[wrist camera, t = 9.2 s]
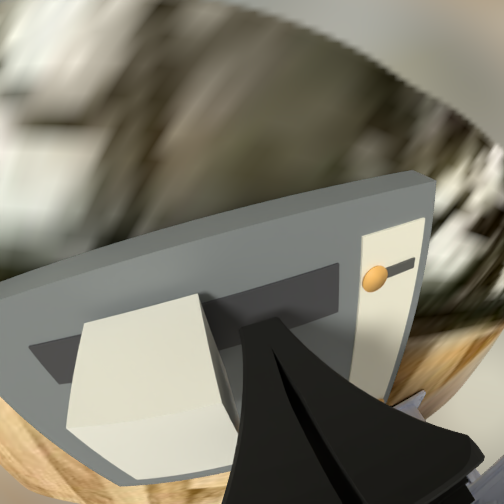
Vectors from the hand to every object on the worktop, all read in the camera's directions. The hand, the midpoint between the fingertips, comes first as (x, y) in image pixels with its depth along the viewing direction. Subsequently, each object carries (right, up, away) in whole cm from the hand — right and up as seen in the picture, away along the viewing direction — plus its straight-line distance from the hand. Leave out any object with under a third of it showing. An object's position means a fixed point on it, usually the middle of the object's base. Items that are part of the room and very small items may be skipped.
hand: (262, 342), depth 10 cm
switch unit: (-2, -4, +5) cm, 7 cm away
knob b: (-4, -1, 0) cm, 4 cm away
